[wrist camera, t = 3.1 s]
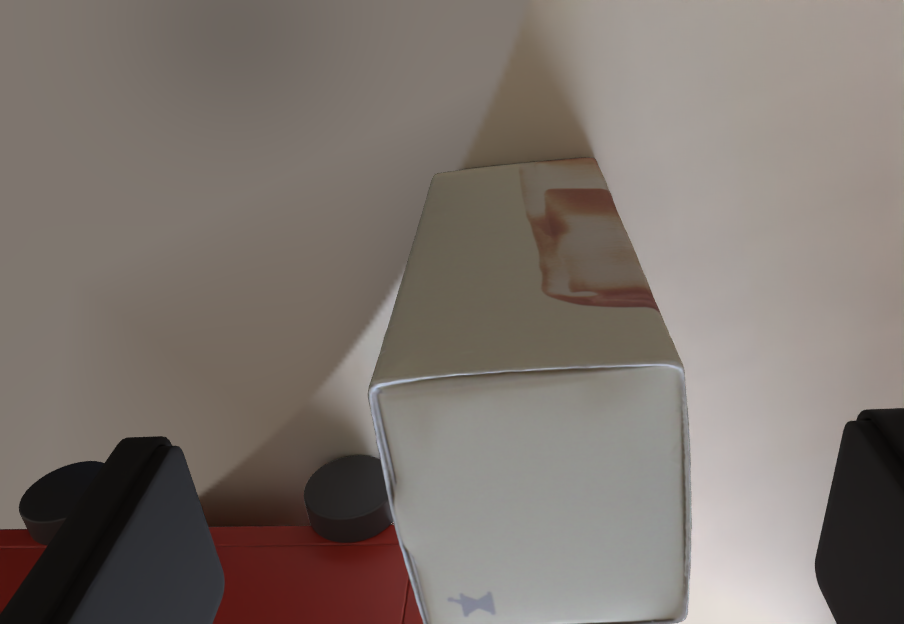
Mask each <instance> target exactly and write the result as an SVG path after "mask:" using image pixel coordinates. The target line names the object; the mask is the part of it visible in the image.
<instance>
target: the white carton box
mask: <svg viewBox="0 0 904 624" xmlns="http://www.w3.org/2000/svg"><path fill="white" fill-rule="evenodd" d="M368 399H369V404H370V409H371V414H372V419H373V424H374V429H375V434H376V443H377V447H378V451H379V454H380V459H381V465H382V470H383V475H384V479H385V484H386V490H387V494H388V499H389V504H390V509H391V513H392V518H393V522H394V526H395V530H396V534H397V538H398V541H399V545H400V548H401V550H402V553H403V557H404V562H405V565H406V569H407V571H408V574H409V578H410V582H411V585H412V588H413V591H414V595H415V599H416V603H417V605H418V608H419V611H420V615H421V617H422V620H423V624H674V623H679V622H682V621H684V620H685V619H686V617H687V613H688V601H689V579H690V561H691V529H692V518H691V478H690V467H691V462H690V439H689V421H688V408H687V396H686V386H685V372H684V367H683V364H682V362H681V359H680V357H679V355H678V353H677V350H676V348H675V345H674V343H673V341H672V339H671V337H670V335H669V332H668V330H667V327H666V325H665V323H664V321H663V318H662V316H661V313H660V311H659V309H658V306H657V304H656V302H655V300H654V298H653V295H652V292H651V290H650V287H649V284H648V282H647V279H646V277H645V275H644V273H643V270H642V268H641V265H640V263H639V261H638V258H637V255H636V253H635V251H634V248H633V246H632V243H631V241H630V239H629V236H628V234H627V232H626V230H625V228H624V225H623V223H622V221H621V218H620V216H619V214H618V212H617V210H616V207H615V204H614V202H613V199H612V196H611V193H610V191H609V189H608V186H607V183H606V181H605V179H604V177H603V175H602V172H601V170H600V168H599V166H598V163H597V161H596V160H595V159H594V158H574V159H563V160H551V161H539V162H529V163H519V164H508V165H499V166H490V167H482V168H473V169H465V170H459V171H450V172H443V173H437V174H435V175H434V176H433V178H432V181H431V184H430V188H429V191H428V194H427V198H426V202H425V205H424V208H423V212H422V215H421V219H420V222H419V225H418V229H417V232H416V236H415V239H414V242H413V246H412V248H411V251H410V254H409V258H408V261H407V265H406V269H405V272H404V275H403V278H402V282H401V285H400V288H399V291H398V295H397V298H396V301H395V305H394V308H393V312H392V315H391V318H390V321H389V325H388V328H387V331H386V334H385V337H384V340H383V344H382V347H381V351H380V354H379V357H378V360H377V364H376V367H375V370H374V373H373V376H372V379H371V382H370V385H369V390H368Z"/></svg>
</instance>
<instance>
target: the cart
mask: <svg viewBox="0 0 904 624" xmlns="http://www.w3.org/2000/svg"><path fill="white" fill-rule="evenodd" d="M103 465H104V463H102V462H97V461H86V462H78V463H74V464H70V465H67V466H64V467H62V468H59V469H57V470H55V471H52V472H51V473H49V474H47V475H45V476H44V477H42V478H41V479H39V480H38V481H37V482H35V483H34V484H33V485H32V486H31V487H30V488H29V489H28V490H27V491H26V492H25V494H24V495H23V497H22V498H21V501H20V504H19V512H20V515H21V517H22V519H23V521H24V523H25V525H26V527H27V529H3V530H0V614H1V612H2V611H3V609H4V608H5V607H6V605H7V604H8V602H9V601H10V599H11V598H12V596H13V595H14V594H15V592H16V591H17V589H18V588H19V586H20V585H21V583H22V582H23V581H24V579H25V578H26V576H27V575H28V573H29V572H30V570H31V569H32V568H33V566H34V565H35V563H36V562H37V560H38V559H39V557H40V556H41V555H42V553H43V552H44V550H45V549H46V547H47V546H48V544H49V543H50V541H51V540H52V539H53V537H54V536H55V534H56V533H57V531H58V530H59V528H60V527H61V526H62V524H63V523H64V521H65V520H66V518H67V517H68V515H69V514H70V513H71V511H72V510H73V508H74V507H75V505H76V504H77V502H78V501H79V500H80V498H81V497H82V495H83V494H84V492H85V491H86V489H87V488H88V487H89V485H90V484H91V482H92V481H93V479H94V478H95V476H96V475H97V474H98V472H99V471H100V469H101V468H102V466H103ZM304 501H305V505H306V509H307V514H308V518H309V522H310V525H311V526H240V527H209V530H210V533H211V536H212V539H213V542H214V545H215V548H216V551H217V554H218V557H219V560H220V563H221V566H222V569H223V572H224V578H225V586H224V593H223V597H222V600H221V603H220V606H219V608H218V611H217V613H216V616H215V618H214V621H213V624H423V620H422V617H421V615H420V611H419V608H418V605H417V603H416V599H415V595H414V591H413V588H412V585H411V582H410V578H409V574H408V571H407V569H406V565H405V562H404V557H403V553H402V550H401V548H400V545H399V541H398V538H397V534H396V530H395V526H394V525H390V524H391V523H392V522H393V518H392V513H391V509H390V504H389V499H388V494H387V490H386V484H385V479H384V475H383V470H382V465H381V460H380V459H378V458H375V457H371V456H359V455H358V456H348V457H344V458H340V459H337V460H334V461H332V462H330V463H328V464H326V465H324V466H323V467H321V468H320V469H318V470H317V471H316V472H315V473H314V474H313V475H312V476H311V477H310V479H309V480H308V482H307V484H306V486H305V490H304Z"/></svg>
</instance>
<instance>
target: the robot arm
mask: <svg viewBox="0 0 904 624" xmlns="http://www.w3.org/2000/svg"><path fill="white" fill-rule="evenodd" d="M815 572H816V578H817V581H818V585H819V587H820V590H821V592H822V594H823V596H824V598H825V600H826V602H827V604H828V606H829V608H830V611H831V613H832V615H833V617H834V619H835V621H836V623H837V624H904V408H895V409H869V410H863V411H861V413H860V414H859V415H858V417H857V420H856V421H849V422H847V424H846V425H845V427H844V431H843V435H842V440H841V444H840V449H839V453H838V458H837V462H836V467H835V472H834V476H833V481H832V485H831V490H830V494H829V499H828V504H827V508H826V513H825V517H824V522H823V526H822V531H821V535H820V540H819V545H818V549H817V554H816V558H815ZM224 586H225V578H224V572H223V569H222V566H221V563H220V560H219V557H218V554H217V551H216V548H215V545H214V542H213V539H212V536H211V533H210V530H209V527H208V524H207V522H206V519H205V516H204V513H203V510H202V507H201V504H200V501H199V498H198V495H197V492H196V489H195V486H194V483H193V480H192V477H191V474H190V471H189V468H188V465H187V462H186V459H185V457H184V454H183V452H182V450H181V448H180V447H178V446H172V445H171V442H170V441H169V440H168V439H167V438H166V437H162V436H160V437H134V438H133V437H132V438H125V439H122V440H121V441H120V442H119V444H118V445H117V446H116V448H115V449H114V451H113V452H112V453H111V455H110V456H109V458H108V459H107V461H106V462H105V463H104V465H103V466H102V468H101V469H100V471H99V472H98V474H97V475H96V476H95V478H94V479H93V481H92V482H91V484H90V485H89V487H88V488H87V489H86V491H85V492H84V494H83V495H82V497H81V498H80V500H79V501H78V502H77V504H76V505H75V507H74V508H73V510H72V511H71V513H70V514H69V515H68V517H67V518H66V520H65V521H64V523H63V524H62V526H61V527H60V528H59V530H58V531H57V533H56V534H55V536H54V537H53V539H52V540H51V541H50V543H49V544H48V546H47V547H46V549H45V550H44V552H43V553H42V555H41V556H40V557H39V559H38V560H37V562H36V563H35V565H34V566H33V568H32V569H31V570H30V572H29V573H28V575H27V576H26V578H25V579H24V581H23V582H22V583H21V585H20V586H19V588H18V589H17V591H16V592H15V594H14V595H13V596H12V598H11V599H10V601H9V602H8V604H7V605H6V607H5V608H4V609H3V611H2V612H1V614H0V624H213V621H214V618H215V616H216V613H217V611H218V608H219V606H220V603H221V600H222V597H223V593H224Z"/></svg>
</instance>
